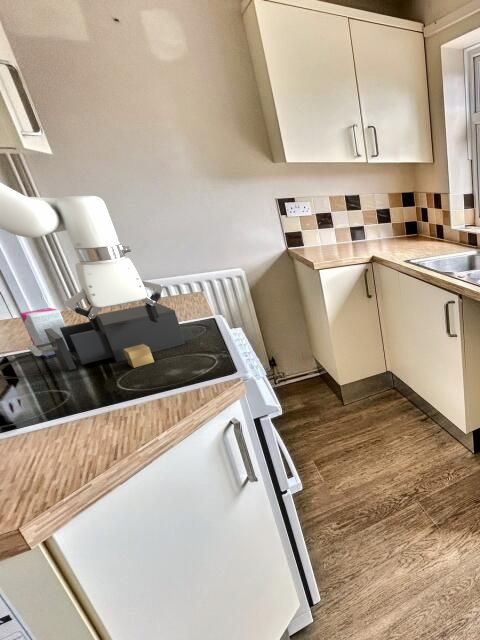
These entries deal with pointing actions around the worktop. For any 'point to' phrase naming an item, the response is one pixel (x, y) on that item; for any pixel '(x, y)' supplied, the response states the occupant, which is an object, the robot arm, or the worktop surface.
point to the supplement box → (43, 326)
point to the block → (138, 355)
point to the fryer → (141, 330)
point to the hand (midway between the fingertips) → (129, 327)
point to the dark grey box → (75, 345)
